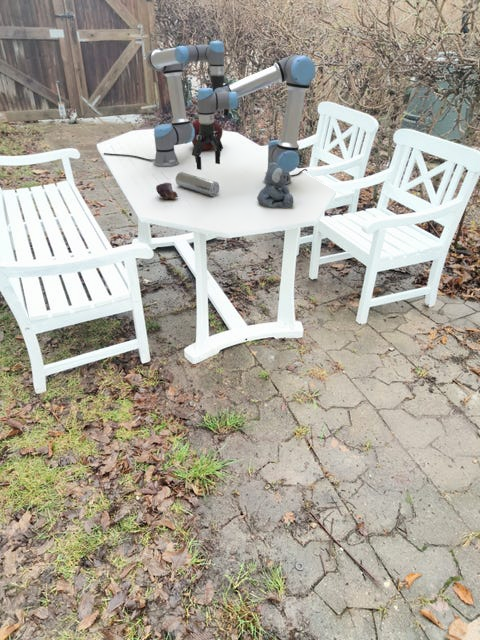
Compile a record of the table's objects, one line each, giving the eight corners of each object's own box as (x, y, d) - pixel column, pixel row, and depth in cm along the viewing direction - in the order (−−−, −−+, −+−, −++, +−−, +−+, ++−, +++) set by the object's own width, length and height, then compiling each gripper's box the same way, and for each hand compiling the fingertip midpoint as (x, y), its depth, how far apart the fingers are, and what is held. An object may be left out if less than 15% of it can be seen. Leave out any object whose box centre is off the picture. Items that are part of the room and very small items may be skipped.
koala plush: (294, 208, 225) (297, 169, 214) (259, 209, 224) (259, 170, 213) (288, 196, 240) (290, 159, 229) (255, 198, 239) (255, 160, 227)
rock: (172, 196, 246) (154, 198, 242) (170, 179, 242) (152, 182, 238) (179, 199, 236) (161, 201, 232) (177, 182, 233) (159, 184, 229)
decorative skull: (188, 123, 330) (185, 120, 306) (219, 116, 329) (218, 112, 306) (194, 153, 337) (192, 152, 313) (225, 146, 336) (225, 145, 313)
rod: (176, 187, 255) (174, 173, 250) (186, 184, 259) (185, 170, 255) (209, 198, 239) (208, 183, 235) (219, 194, 244) (219, 180, 240)
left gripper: (206, 77, 234) (207, 121, 246) (237, 73, 249) (237, 114, 262) (196, 76, 238) (198, 119, 250) (227, 72, 253) (228, 112, 266)
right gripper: (193, 128, 213) (196, 173, 225) (229, 120, 228) (230, 162, 240) (182, 126, 217) (186, 170, 229) (218, 118, 233) (220, 160, 245)
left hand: (218, 117), depth 256 cm, fingers open, 13 cm apart
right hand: (208, 166), depth 235 cm, fingers open, 13 cm apart
